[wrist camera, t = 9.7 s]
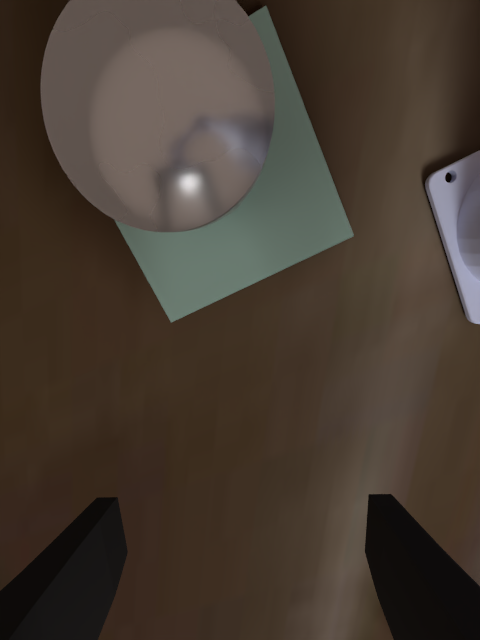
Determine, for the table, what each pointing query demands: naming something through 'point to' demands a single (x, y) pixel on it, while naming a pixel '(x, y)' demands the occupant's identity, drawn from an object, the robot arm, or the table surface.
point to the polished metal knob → (158, 108)
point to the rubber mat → (252, 212)
